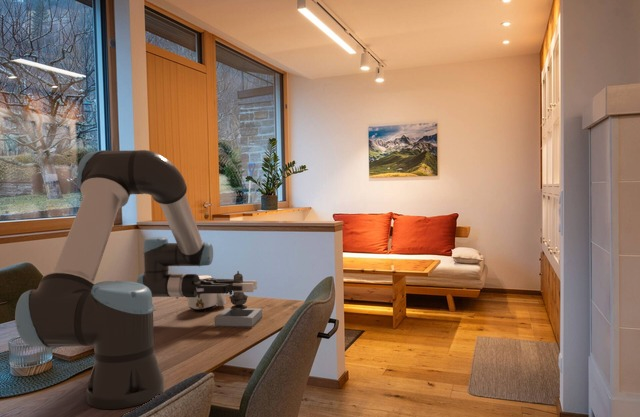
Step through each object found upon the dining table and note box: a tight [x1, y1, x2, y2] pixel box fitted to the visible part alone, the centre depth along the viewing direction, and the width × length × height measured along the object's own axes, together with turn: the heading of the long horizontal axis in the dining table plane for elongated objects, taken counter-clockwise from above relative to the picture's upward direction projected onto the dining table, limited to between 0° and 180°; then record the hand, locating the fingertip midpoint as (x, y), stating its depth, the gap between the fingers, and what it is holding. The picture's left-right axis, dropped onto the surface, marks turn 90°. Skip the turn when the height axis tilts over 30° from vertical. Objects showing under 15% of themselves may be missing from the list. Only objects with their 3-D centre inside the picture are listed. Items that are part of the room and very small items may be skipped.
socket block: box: [213, 307, 263, 329], centre depth 158 cm, size 12×12×3 cm
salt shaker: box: [229, 270, 249, 310], centre depth 158 cm, size 6×6×12 cm
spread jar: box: [186, 274, 227, 313], centre depth 177 cm, size 12×11×12 cm
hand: (254, 286), depth 157 cm, fingers closed on salt shaker, 3 cm apart
